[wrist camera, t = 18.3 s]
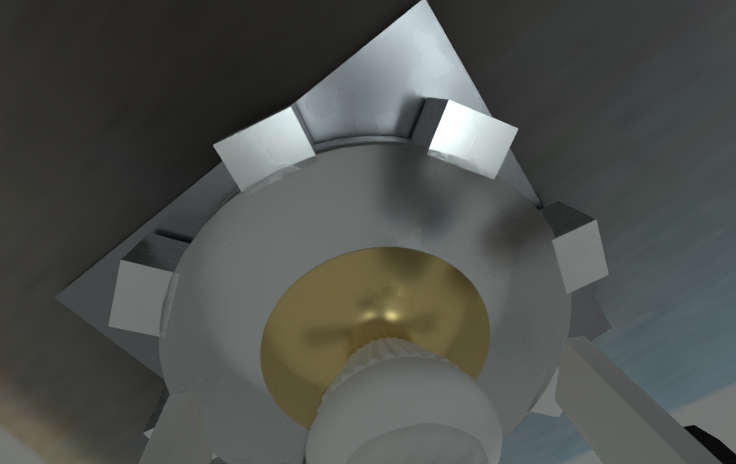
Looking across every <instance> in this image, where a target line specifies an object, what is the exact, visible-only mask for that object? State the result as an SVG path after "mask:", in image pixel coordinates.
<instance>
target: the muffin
mask: <svg viewBox="0 0 736 464" xmlns="http://www.w3.org/2000/svg"><path fill="white" fill-rule="evenodd" d="M322 400H323V401H322V403H321V404H320V406H319V408H318V409H317V413H318V414H317V416H316V418H315V420H314V422H313V424H312V426H311V428H310V431H309V434H308V437H307V442H306V450H305V457H306V464H498V463H499V459H500V455H501V450H502V429H501V424H500V420H499V417H498V415H497V412H496V410H495V407H494V405H493V403H492V401H491V400H490V398H489V397H488V395H487V393H486V392H485V391H484V390H483V388H482V387H481V386H480V385H479V384H478V383H477V382H476V381H475V380H474V379H473V378H472V377H471V376H469V375H468V374H467V373H465V372H464V371H462V370H460V369H459V367H458V366H457V365H455V364H453V363H451V362H449V361H448V359H447V358H445V357H443V356H441V355H438V354H436V353H434V352H432V351H430V350H428V349H425V348H423V347H421V346H419V345H417V344H415V343H412V342H410V341H407V340H405V339H402V338H401V339H398V338H396V337H393V338H390V337H387V338H385V339H383V338H379V339H378V340H377V341H375V340H372V341H371V342H370V343H369V344H367V343H365V344H364V345H363V347H362V348H358V349H357V350H356V352H355V353H353V354H352V355H351V356H350V358H349V359H348V361H347V362H346V364H345V365H344V366H343V368H342V369H341V371H340V372H339V373H338V375H337V376H336V378H335V379H334V381H333V382H332V383H331V385H330V386H329V388H328V389H327V391H326V392H325V394H324V395H323V397H322Z"/></svg>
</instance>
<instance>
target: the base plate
mask: <svg viewBox="0 0 736 464" xmlns="http://www.w3.org/2000/svg"><path fill="white" fill-rule="evenodd" d="M427 97H432V98H440V99H448V100H451V101H453V102H456V103H458V104H461V105H463V106H465V107H468V108H470V109H473V110H475V111H477V112H480V113H482V114H485V115H487V116H489V117H492V116H491V114H490V112H489V110H488V109H487V107H486V105H485V103H484V102H483V100H482V98H481V96H480V95H479V93H478V91H477V89H476V87H475V86H474V84H473V82H472V80H471V79H470V77H469V75H468V73H467V72H466V70H465V68H464V66H463V65H462V63H461V61H460V59H459V57H458V56H457V54H456V52H455V50H454V49H453V47H452V45H451V43H450V42H449V40H448V38H447V36H446V34H445V33H444V31H443V29H442V27H441V26H440V24H439V22H438V20H437V19H436V17H435V15H434V13H433V11H432V10H431V8H430V6H429V4H428V3H427V1H426V0H421V1H420V2H418V3H417V4H416V5H414V6H413V7H412V8H411V9H410V10H408V11H407V12H406V13H405V14H403V15H402V16H401V17H400V18H398V19H397V20H396V21H395V22H393V23H392V24H391V25H390V26H389V27H387V28H386V29H385V30H384V31H382V32H381V33H380V34H379V35H377V36H376V37H375V38H374V39H372V40H371V41H370V42H369V43H368V44H366V45H365V46H364V47H363V48H361V49H360V50H359V51H358V52H356V53H355V54H354V55H353V56H351V57H350V58H349V59H348V60H347V61H345V62H344V63H343V64H342V65H340V66H339V67H338V68H337V69H335V70H334V71H333V72H332V73H330V74H329V75H328V76H327V77H326V78H324V79H323V80H322V81H321V82H319V83H318V84H317V85H316V86H314V87H313V88H312V89H311V90H309V91H308V92H307V93H306V94H305V95H303V96H302V97H301V98H300V99H298V100H297V101H296V102H295V103H294V104H295V106H296V108H297V110H298V112H299V114H300V116H301V118H302V120H303V122H304V124H305V126H306V128H307V130H308V132H309V134H310V136H311V138H312V140H313V142H314V144H319V143H323V142H327V141H330V140H334V139H341V138H349V137H358V136H393V137H399V138H406V139H411V138H412V135H413V132H414V130H415V127H416V125H417V122H418V120H419V117H420V115H421V112H422V110H423V107H424V105H425V102H426V100H427ZM497 175H498V176H499V177H501V178H502V179H504V180H505V181H507V182H508V183H510V184H511V185H513V186H514V187H515V188H516V189H517V190H519V191H520V192H521V193H522V194H523V195H524V196H525V197H526V198H527V199H528V200H529V201H530V202H532V203H533V205H534V206H535V207H536V208H537V210H540V209H543V206H542V204H541V202H540V201H539V199H538V197H537V195H536V194H535V192H534V190H533V188H532V186H531V185H530V183H529V181H528V179H527V178H526V176H525V174H524V172H523V171H522V169H521V167H520V165H519V163H518V162H517V160H516V158H515V156H514V155H513V153H512V151H511V149H510V148H509V150H508V152H507V154H506V156H505V158H504V160H503V162H502V165H501V167H500V169H499V171H498V173H497ZM236 187H238V185H237V184H236V182H235V180H234V179H233V177H232V175H231V174H230V172H229V171H228V169H227V167H226V166H225V164H224V162H223V161H222V162H221V163H219V164H218V165H217V166H216V167H214V168H213V169H212V170H211V171H209V172H208V173H207V174H206V175H204V176H203V177H202V178H201V179H200V180H198V181H197V182H196V183H195V184H193V185H192V186H191V187H190V188H188V189H187V190H186V191H185V192H183V193H182V194H181V195H180V196H178V197H177V198H176V199H175V200H174V201H172V202H171V203H170V204H169V205H167V206H166V207H165V208H164V209H162V210H161V211H160V212H159V213H157V214H156V215H155V216H154V217H153V218H151V219H150V220H149V221H148V222H146V223H145V224H144V225H143V226H141V227H140V228H139V229H138V230H136V231H135V232H134V233H133V234H132V235H130V236H129V237H128V238H127V239H125V240H124V241H123V242H122V243H120V244H119V245H118V246H117V247H115V248H114V249H113V250H112V251H111V252H109V253H108V254H107V255H106V256H104V257H103V258H102V259H101V260H99V261H98V262H97V263H96V264H94V265H93V266H92V267H91V268H90V269H88V270H87V271H86V272H85V273H83V274H82V275H81V276H80V277H78V278H77V279H76V280H75V281H73V282H72V283H71V284H70V285H69V286H67V287H66V288H65V289H64V290H62V291H61V292H60V293H59V294H58V295H57V296H55V297H54V298H55V299H57V300H58V301H59V302H61V303H62V304H63V305H65V306H66V307H67V308H69V309H70V310H71V311H73V312H74V313H75V314H77V315H78V316H79V317H81V318H82V319H83V320H85V321H86V322H87V323H89V324H90V325H91V326H93V327H94V328H95V329H97V330H98V331H99V332H101V333H102V334H103V335H105V336H106V337H107V338H109V339H110V340H111V341H113V342H114V343H115V344H117V345H118V346H119V347H121V348H122V349H123V350H125V351H126V352H127V353H129V354H130V355H131V356H133V357H134V358H135V359H137V360H138V361H139V362H141V363H142V364H143V365H145V366H146V367H147V368H149V369H150V370H151V371H153V372H154V373H155V374H157V375H158V376H159V377H161V378H162V379H163V380H164V377H163V372H162V367H161V362H160V357H159V337H158V336H153V335H149V334H144V333H139V332H134V331H129V330H124V329H119V328H114V327H109V326H108V325H109V320H110V314H111V309H112V304H113V298H114V293H115V288H116V282H117V277H118V272H119V266H120V261H121V259H122V258H123V257H124V256H125V255H126V254H127V253H128V252H129V251H131V250H132V249H133V248H134V247H135V246H136V245H137V244H138V243H139V242H140V241H141V240H142V239H143V238H144V237H145V236H146V235H148V234H149V233H151V234H155V235H159V236H163V237H166V238H170V239H174V240H178V241H182V242H185V243H189V244H191V242H192V241H193V240H194V238H195V237H196V235H197V234H198V233H199V231H200V230H201V228H202V227H203V226H204V224H205V223H206V222H207V220H208V219H209V218H210V216H211V215H212V214H213V212H214V211H215V210H216V208H217V207H218V206H219V205H220V204H221V203H222V202H223V201H224V200H225V199H226V198H227V197H228V195H229V194H230V193H231V192H232V191H233V190H234V189H235V188H236ZM571 301H572V311H571V320H570V328H569V333H568V337H567V338H572V337H579V336H585V337H586V338H587V339H588V340H589V341H592V340H593V339H595V338H596V337H598V336H599V335H601V334H602V333H604V332H605V331H607V330H608V329H610V328H611V326H610V324H609V323H608V321H607V319H606V317H605V315H604V314H603V312H602V310H601V308H600V307H599V305H598V303H597V301H596V300H595V298H594V296H593V294H592V292H591V291H590V289H589V287H588V285H585V286H583V287H581V288H579V289H577V290H575V291H573V292H571Z"/></svg>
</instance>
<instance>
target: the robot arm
mask: <svg viewBox="0 0 736 464" xmlns="http://www.w3.org/2000/svg"><path fill="white" fill-rule="evenodd" d="M554 400H555V401H556V403H557V404H558V405H559V407H560V408H561V409H562V410H563V412H564V413H565V414H566V416H567V417H568V418H569V420H570V421H571V422H572V423H573V425H574V426H575V427H576V429H577V430H578V431H579V433H580V434H581V435H582V436H583V438H584V439H585V440H586V442H587V443H588V444H589V445H590V447H591V448H592V449H593V451H594V452H595V453H596V455H597V456H598V457H599V458H600V460H601V461H602V462H603V464H736V454H735V453H734V452H732V451H731V450H730V449H729V448H728V447H727V446H726V445H724V444H723V443H722V442H721V441H720V440H718V439H717V438H715V437H714V436H712V435H710V434H708V433H707V432H705V431H703V430H702V429H700V428H698V427H697V426H695V425H692V426H686V427H682V426H681V425H680V424H679V423H678V422H677V421H676V420H675V419H674V418H672V417H671V416H670V415H669V414H668V413H667V412H666V411H665V410H664V409H663V408H662V407H661V406H660V405H658V404H657V403H656V402H655V401H654V400H653V399H652V398H651V397H650V396H649V395H648V394H647V393H645V392H644V391H643V390H642V389H641V388H640V387H639V386H638V385H637V384H636V383H635V382H634V381H632V380H631V379H630V378H629V377H628V376H627V375H626V374H625V373H624V372H623V371H622V370H621V369H619V368H618V367H617V366H616V365H615V364H614V363H613V362H612V361H611V360H610V359H609V358H608V357H606V356H605V355H604V354H603V353H602V352H601V351H600V350H599V349H598V348H597V347H596V346H595V345H593V344H592V343H591V342H590V341H589V340H588V339H587V338H586V337H585V336H579V337H572V338H565V339H563V346H562V352H561V359H560V365H559V372H558V378H557V385H556V391H555V398H554ZM211 459H212V451H211V448H210V444H209V441H208V437H207V433H206V430H205V426H204V423H203V419H202V416H201V412H200V409H199V405H198V402H197V398H196V395H195V392H188V393H181V394H174V395H169V397H168V399H167V401H166V403H165V406H164V408H163V410H162V412H161V414H160V417H159V419H158V421H157V423H156V426H155V428H154V430H153V432H152V435H151V437H150V439H149V441H148V443H147V446H146V448H145V450H144V452H143V455H142V457H141V459H140V461H139V464H210V463H211Z"/></svg>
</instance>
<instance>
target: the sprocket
mask: <svg viewBox="0 0 736 464" xmlns="http://www.w3.org/2000/svg"><path fill="white" fill-rule="evenodd" d="M517 131H518V128H516V127H513V126H511V125H509V124H506V123H504V122H501V121H499V120H497V119H494V118H492V117H489V116H487V115H485V114H482V113H480V112H477V111H475V110H473V109H470V108H468V107H465V106H463V105H461V104H458V103H456V102H453V101H451V100H448V99H440V98H432V97H427V100H426V102H425V105H424V107H423V110H422V112H421V115H420V117H419V120H418V122H417V125H416V127H415V130H414V132H413V135H412V138H411V139H406V138H399V137H393V136H358V137H349V138H341V139H334V140H330V141H327V142H323V143H319V144H314V142H313V140H312V138H311V136H310V134H309V132H308V130H307V128H306V126H305V124H304V122H303V120H302V118H301V116H300V114H299V112H298V110H297V108H296V106H295V104H294V103H292V104H290V105H288V106H286V107H284V108H282V109H280V110H278V111H276V112H274V113H272V114H270V115H268V116H266V117H264V118H262V119H260V120H258V121H256V122H254V123H252V124H250V125H248V126H246V127H244V128H242V129H240V130H238V131H235V132H233V133H231V134H229V135H228V136H226V137H225V138H223V139H221V140H220V141H218V142H217V143H215V144H214V145H213V146H214V148H215V149H216V151H217V153H218V154H219V156H220V158H221V159H222V161H223V162H224V164H225V166H226V167H227V169H228V171H229V172H230V174H231V175H232V177H233V179H234V180H235V182H236V184H237V185H238V187H236V188H235V189H234V190H233V191H232V192H231V193H230V194H229V195H228V197H227V198H226V199H225V200H224V201H223V202H222V203H221V204H220V205H219V206H218V207H217V208H216V210H215V211H214V212H213V214H212V215H211V216H210V218H209V219H208V220H207V222H206V223H205V224H204V226H203V227H202V228H201V230H200V231H199V233H198V234H197V235H196V237H195V238H194V240H193V241H192V242H191V244H189V243H185V242H182V241H178V240H174V239H170V238H166V237H163V236H159V235H155V234H151V233H149V234H148V235H146V236H145V237H144V238H143V239H142V240H141V241H140V242H139V243H138V244H137V245H136V246H135V247H134V248H133V249H132V250H131V251H129V252H128V253H127V254H126V255H125V256H124V257H123V258H122V259H121V261H120V266H119V272H118V277H117V282H116V288H115V293H114V298H113V304H112V309H111V314H110V320H109V325H108V326H109V327H114V328H119V329H124V330H129V331H134V332H139V333H144V334H149V335H153V336H158V337H159V357H160V362H161V367H162V372H163V377H164V381H165V383H166V386H167V387H165V388H164V390H163V392H162V394H161V396H160V399H159V401H158V403H157V405H156V407H155V409H154V411H153V413H152V415H151V418H150V420H149V422H148V424H147V426H146V428H145V430H144V432H143V433H144V434H145V435H146V436H147V437H148V438H149V439H150V437H151V435H152V432H153V430H154V428H155V426H156V423H157V421H158V419H159V417H160V414H161V412H162V410H163V408H164V406H165V403H166V401H167V399H168V397H169V395H174V394H181V393H188V392H195V395H196V398H197V402H198V405H199V409H200V412H201V416H202V419H203V423H204V426H205V430H206V433H207V437H208V441H209V444H210V448H211V451H212V459H214V458H216V457H219V458H221V459H222V460H224V461H225V462H226V463H228V464H306V457H305V450H306V442H307V437H308V434H309V431H310V428H311V426H312V424H313V422H314V420H315V418H316V416H317V414H318V413H317V409H318V408H319V406H320V404H321V403H322V401H323V400H322V397H323V395H324V394H325V392H326V391H327V389H328V388H329V386H330V385H331V383H332V382H333V381H334V379H335V378H336V376H337V375H338V373H339V372H340V371H341V369H342V368H343V366H344V365H345V364H346V362H347V361H348V359H349V358H350V356H351V355H352V354H353V353H355V352H356V350H357V349H358V348H362V347H363V345H364V344H365V343H367V344H369V343H370V342H371V341H372V340H375V341H377V340H378V339H379V338H383V339H385V338H387V337H390V338H393V337H396V338H398V339H401V338H402V339H405V340H407V341H410V342H412V343H415V344H417V345H419V346H421V347H423V348H425V349H428V350H430V351H432V352H434V353H436V354H438V355H441V356H443V357H445V358H447V359H448V361H449V362H451V363H453V364H455V365H457V366H458V367H459V369H460V370H462V371H464V372H465V373H467V374H468V375H469V376H471V377H472V378H473V379H474V380H475V381H476V382H477V383H478V384H479V385H480V386H481V387H482V388H483V390H484V391H485V392H486V393H487V395H488V397H489V398H490V400H491V401H492V403H493V405H494V407H495V410H496V412H497V415H498V417H499V420H500V424H501V429H502V439H503V438H504V437H506V436H507V435H508V434H509V433H510V432H511V431H512V430H513V429H514V428H515V427H516V426H517V425H518V424H519V423H520V422H521V421H522V420H523V419H524V418H525V416H526V415H527V414H528V413H529V412H535V413H540V414H545V415H550V416H555V417H559V416H560V415H561V413H562V412H563V410H562V409H561V408H560V407H559V405H558V404H557V403H556V401H555V400H554V398H555V391H556V385H557V378H558V372H559V365H560V359H561V352H562V346H563V339H565V338H567V337H568V333H569V328H570V320H571V311H572V301H571V292H573V291H575V290H577V289H579V288H581V287H583V286H585V285H588V284H590V283H592V282H594V281H596V280H598V279H600V278H603V277H605V276H607V275H609V274H608V269H607V265H606V260H605V256H604V251H603V247H602V242H601V238H600V233H599V229H598V224H597V220H596V219H595V218H592V217H590V216H588V215H586V214H584V213H582V212H580V211H578V210H576V209H574V208H571V207H569V206H567V205H565V204H563V203H561V202H559V201H557V202H555V203H553V204H551V205H549V206H547V207H545V208H543V209H540V210H537V208H536V207H535V206H534V205H533V203H532V202H530V201H529V200H528V199H527V198H526V197H525V196H524V195H523V194H522V193H521V192H520V191H519V190H517V189H516V188H515V187H514V186H513V185H511V184H510V183H508V182H507V181H505V180H504V179H502V178H501V177H499V176H498V175H497V173H498V171H499V169H500V167H501V165H502V162H503V160H504V158H505V156H506V154H507V152H508V150H509V148H510V146H511V143H512V141H513V139H514V137H515V135H516V133H517ZM212 459H211V460H212Z"/></svg>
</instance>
